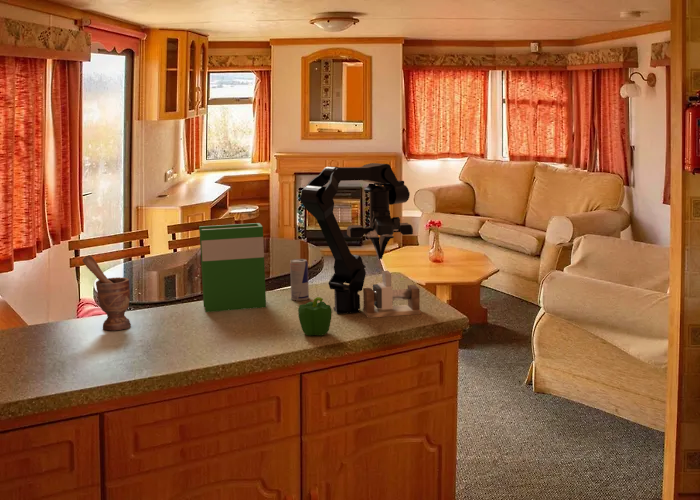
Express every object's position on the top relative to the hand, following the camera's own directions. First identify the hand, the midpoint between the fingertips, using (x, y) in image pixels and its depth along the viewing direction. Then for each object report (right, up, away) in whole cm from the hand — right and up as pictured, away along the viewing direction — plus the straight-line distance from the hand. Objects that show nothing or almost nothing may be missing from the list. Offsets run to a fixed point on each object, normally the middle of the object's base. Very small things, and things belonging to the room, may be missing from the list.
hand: (380, 258), depth 228 cm
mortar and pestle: (-74, -19, -20) cm, 79 cm away
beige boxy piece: (+1, -13, -11) cm, 17 cm away
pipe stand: (+3, -15, -10) cm, 18 cm away
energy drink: (-24, -13, +8) cm, 28 cm away
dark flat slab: (-1, -13, -11) cm, 17 cm away
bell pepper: (-18, -19, -29) cm, 39 cm away
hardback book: (-43, -14, 0) cm, 45 cm away
